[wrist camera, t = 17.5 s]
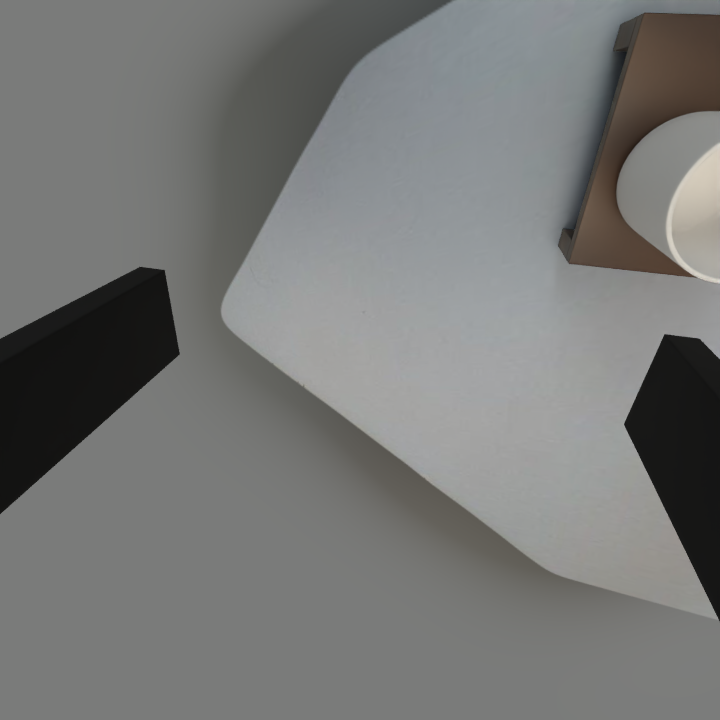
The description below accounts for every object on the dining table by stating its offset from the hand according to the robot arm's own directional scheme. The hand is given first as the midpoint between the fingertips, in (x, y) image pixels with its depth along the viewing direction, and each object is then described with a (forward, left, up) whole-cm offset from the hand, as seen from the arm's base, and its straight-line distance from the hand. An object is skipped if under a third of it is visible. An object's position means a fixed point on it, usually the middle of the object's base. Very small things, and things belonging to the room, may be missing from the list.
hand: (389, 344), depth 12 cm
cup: (-3, +18, -27) cm, 32 cm away
